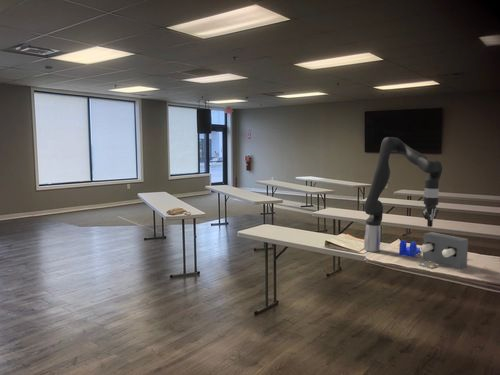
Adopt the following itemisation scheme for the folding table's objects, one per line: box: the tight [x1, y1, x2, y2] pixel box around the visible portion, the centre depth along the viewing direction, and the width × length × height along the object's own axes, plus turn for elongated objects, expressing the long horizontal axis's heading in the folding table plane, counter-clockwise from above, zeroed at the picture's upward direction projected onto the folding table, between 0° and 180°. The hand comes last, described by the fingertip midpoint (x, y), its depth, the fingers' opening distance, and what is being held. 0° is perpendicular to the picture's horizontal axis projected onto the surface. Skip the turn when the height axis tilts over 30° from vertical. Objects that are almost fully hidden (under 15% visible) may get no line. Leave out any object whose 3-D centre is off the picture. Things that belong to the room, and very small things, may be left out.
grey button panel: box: [422, 231, 469, 270], centre depth 228 cm, size 8×22×16 cm, turn 34°
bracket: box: [398, 239, 421, 258], centre depth 250 cm, size 18×8×9 cm, turn 140°
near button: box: [442, 248, 457, 257], centre depth 219 cm, size 8×4×4 cm, turn 124°
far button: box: [420, 243, 435, 253], centre depth 230 cm, size 8×4×4 cm, turn 124°
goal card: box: [418, 262, 438, 270], centre depth 223 cm, size 6×8×1 cm
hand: (429, 226), depth 221 cm, fingers closed
